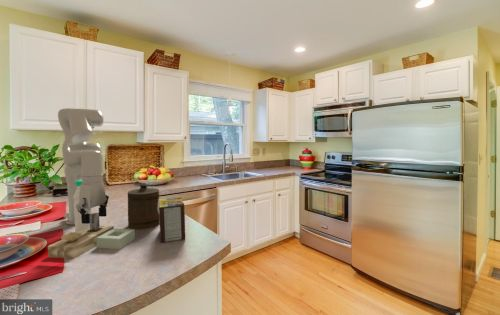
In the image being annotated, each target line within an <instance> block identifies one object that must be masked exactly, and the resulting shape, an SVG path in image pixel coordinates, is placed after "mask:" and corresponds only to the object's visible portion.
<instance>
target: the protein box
mask: <svg viewBox="0 0 500 315" xmlns="http://www.w3.org/2000/svg"><path fill="white" fill-rule="evenodd" d="M159 220H160V225H159V232H160V233H159V234H160V236H159V238H160V239H159V240H160V241H159V242H160V244H162V243H163V244H164V243H170V242H176V241H185V240H186V212H185V203H184V201H183V198H182V197H172V198H170V197H169V198H159Z"/></svg>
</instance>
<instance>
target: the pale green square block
mask: <svg viewBox="0 0 500 315" xmlns="http://www.w3.org/2000/svg"><path fill="white" fill-rule="evenodd" d="M135 239H136V229H130V228H128V229H127V228H126V229H125V228H114V229H112V230H110V231H108V232H106V233H104V234H103V235H101V236H99V237H97V238H96V240H97V245H96V248H97V249H113V250H114V249H115V250H117V249H118V250H121V249H123V248H124V247H126V246H127V245H129V244H130V243H131V242H133V241H134V240H135Z"/></svg>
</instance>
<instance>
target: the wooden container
mask: <svg viewBox="0 0 500 315" xmlns="http://www.w3.org/2000/svg"><path fill="white" fill-rule="evenodd" d="M159 199H160V190H159V188H153V187H148V184H147V183H145V182H142V183H140V184H139V188H136V189H132V190H129V191H128V192H127V227H128V229H133V230H135V231H137V230H138V231H139V230H146V229H147V230H148V229H152V228H154V227H157V226H160V220H159Z"/></svg>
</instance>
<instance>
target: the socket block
mask: <svg viewBox="0 0 500 315" xmlns="http://www.w3.org/2000/svg"><path fill="white" fill-rule="evenodd" d="M112 229H115V227H114V225H100V230H99V231H97V232H90V227H89V228H86V229H84V230H82V231H80V232H78V233H81V236H79V237H77V238H76V241H75V242H73V243H67V239H61V240H58V241H56V242H54V243H52V244H49V245H48V246H47V255H48V258H60V259H75V258H76V257H78V256H80V255H82V254H84V253H85V252H87V251H89V250H91V249H92V248H94V247H95V246H96V247H97V240H96V238H97V237H99V236H101V235H103V234H104V233H106V232H108V231H110V230H112Z"/></svg>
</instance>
